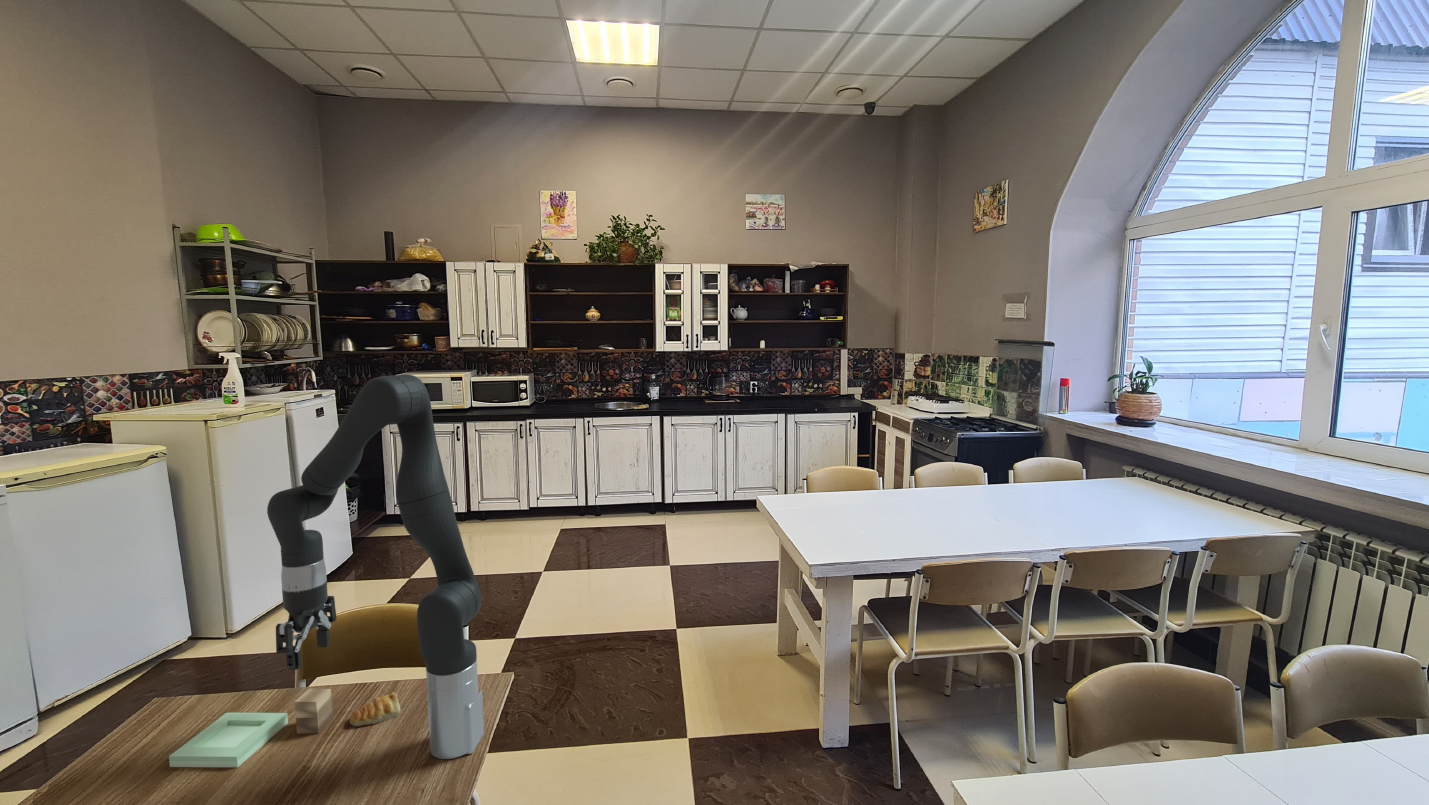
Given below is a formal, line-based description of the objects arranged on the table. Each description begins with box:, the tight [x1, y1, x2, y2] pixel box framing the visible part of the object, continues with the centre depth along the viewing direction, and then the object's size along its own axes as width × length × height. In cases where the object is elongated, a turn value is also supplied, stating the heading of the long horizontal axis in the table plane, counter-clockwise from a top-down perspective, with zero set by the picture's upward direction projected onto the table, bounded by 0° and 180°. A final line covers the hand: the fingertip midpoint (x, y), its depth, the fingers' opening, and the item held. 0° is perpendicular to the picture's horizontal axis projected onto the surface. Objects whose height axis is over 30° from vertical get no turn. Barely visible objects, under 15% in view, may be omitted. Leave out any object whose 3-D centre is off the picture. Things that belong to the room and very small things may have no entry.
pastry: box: [349, 691, 402, 727], centre depth 126 cm, size 9×7×4 cm
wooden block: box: [294, 688, 334, 735], centre depth 122 cm, size 4×4×7 cm
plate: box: [168, 712, 289, 768], centre depth 117 cm, size 13×13×2 cm
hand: (309, 657), depth 121 cm, fingers open, 8 cm apart
